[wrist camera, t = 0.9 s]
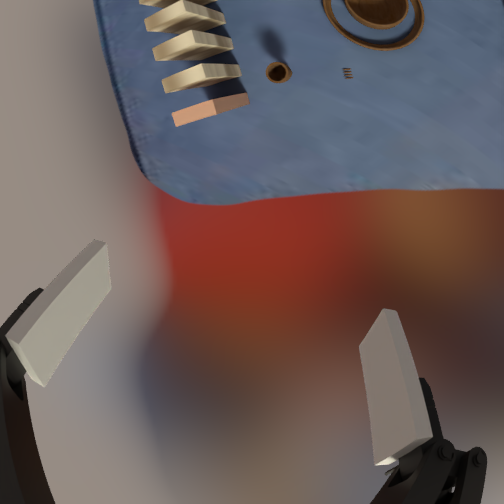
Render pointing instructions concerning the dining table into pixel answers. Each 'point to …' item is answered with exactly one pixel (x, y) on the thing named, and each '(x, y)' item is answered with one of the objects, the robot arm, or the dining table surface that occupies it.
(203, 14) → the tile
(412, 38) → the place setting
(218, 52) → the tile
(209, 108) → the end tile
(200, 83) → the tile
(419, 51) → the dining table surface
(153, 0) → the tile
